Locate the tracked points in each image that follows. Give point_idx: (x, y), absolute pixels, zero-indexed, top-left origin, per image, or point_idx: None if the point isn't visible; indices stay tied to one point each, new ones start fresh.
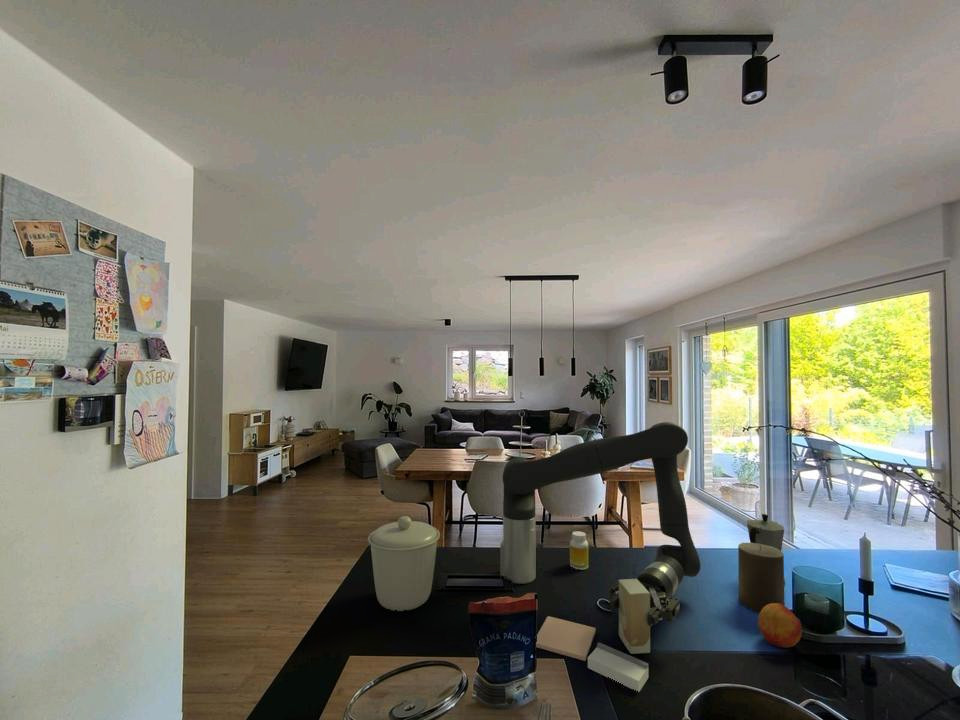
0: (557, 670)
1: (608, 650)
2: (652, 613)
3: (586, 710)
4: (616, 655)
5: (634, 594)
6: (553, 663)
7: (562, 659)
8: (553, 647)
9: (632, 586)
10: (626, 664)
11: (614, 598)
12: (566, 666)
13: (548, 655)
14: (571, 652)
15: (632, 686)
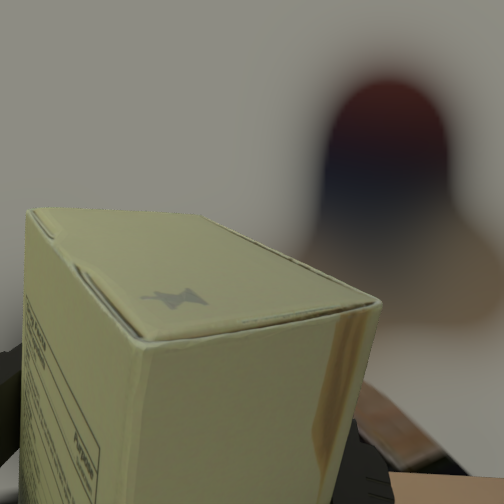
0: (373, 417)
1: None
2: (9, 354)
3: None
4: None
5: (171, 213)
6: (404, 438)
7: (398, 464)
8: (460, 478)
9: (196, 241)
10: None
11: (353, 457)
12: (365, 438)
13: (447, 466)
14: (391, 475)
15: None
